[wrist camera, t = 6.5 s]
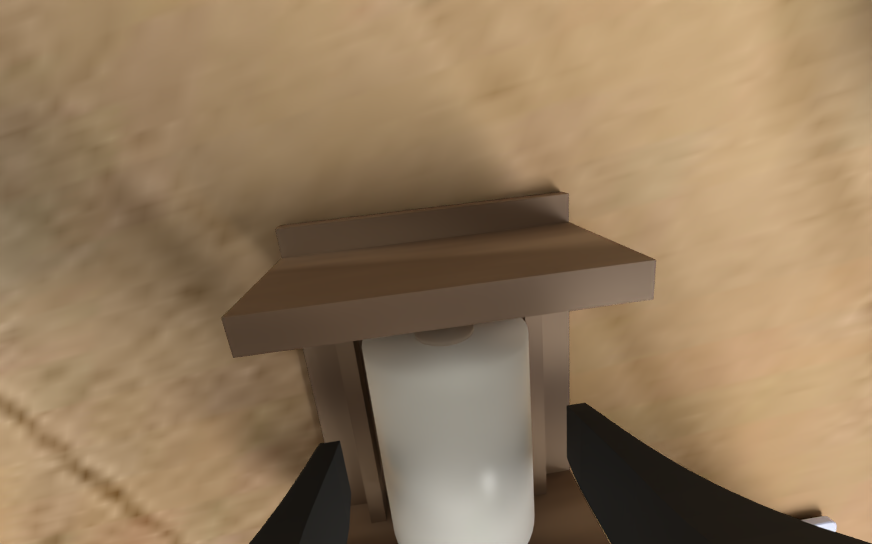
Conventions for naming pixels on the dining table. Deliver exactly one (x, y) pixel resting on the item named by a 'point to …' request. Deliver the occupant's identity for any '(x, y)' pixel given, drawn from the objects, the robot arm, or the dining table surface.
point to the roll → (455, 432)
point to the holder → (439, 324)
